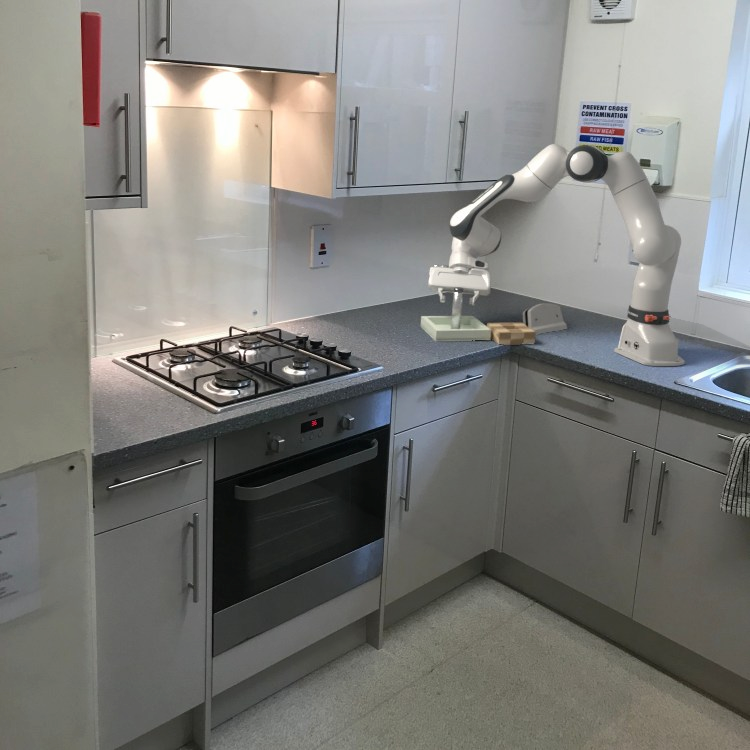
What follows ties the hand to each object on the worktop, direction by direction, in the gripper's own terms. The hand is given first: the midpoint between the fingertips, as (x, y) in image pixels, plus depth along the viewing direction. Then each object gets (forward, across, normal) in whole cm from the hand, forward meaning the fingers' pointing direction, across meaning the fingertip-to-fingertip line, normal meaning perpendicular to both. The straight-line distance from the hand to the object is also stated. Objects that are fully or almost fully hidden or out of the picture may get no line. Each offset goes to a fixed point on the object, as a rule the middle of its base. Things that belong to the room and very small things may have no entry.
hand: (456, 302), depth 287 cm
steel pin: (+6, 0, +7) cm, 9 cm away
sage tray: (+7, 0, +8) cm, 10 cm away
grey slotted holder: (-4, +28, +19) cm, 34 cm away
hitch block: (+8, +18, +7) cm, 21 cm away
